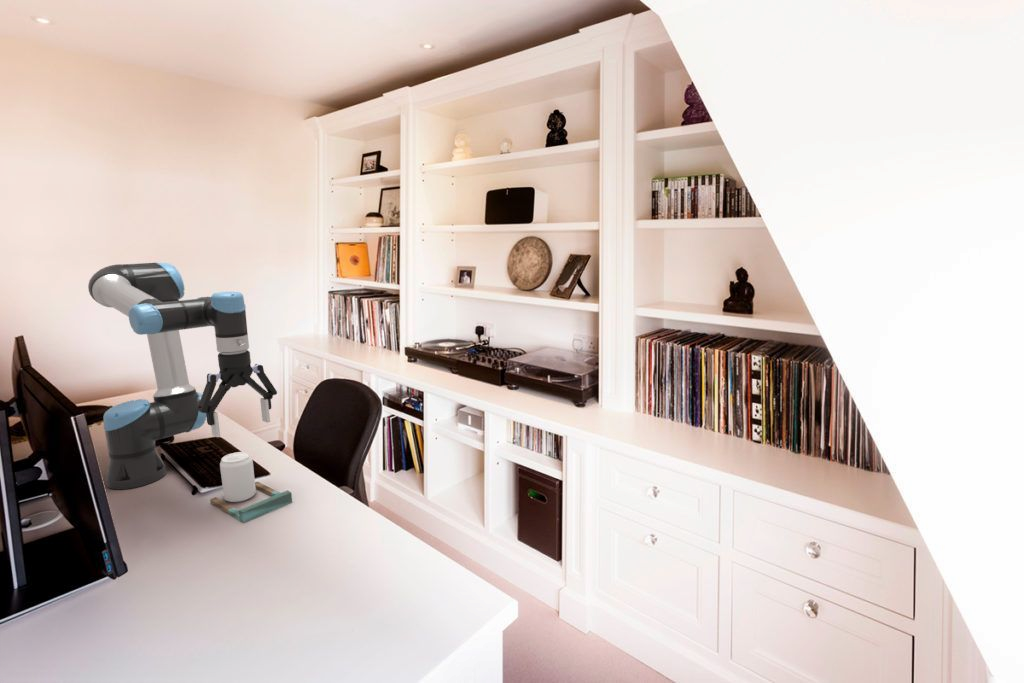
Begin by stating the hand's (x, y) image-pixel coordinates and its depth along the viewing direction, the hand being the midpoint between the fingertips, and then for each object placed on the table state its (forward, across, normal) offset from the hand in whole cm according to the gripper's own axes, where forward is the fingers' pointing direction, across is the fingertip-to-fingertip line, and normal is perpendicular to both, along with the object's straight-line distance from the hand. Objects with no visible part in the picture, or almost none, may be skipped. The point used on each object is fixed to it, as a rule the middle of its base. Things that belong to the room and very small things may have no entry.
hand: (242, 428), depth 147 cm
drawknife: (+21, 0, -1) cm, 21 cm away
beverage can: (+21, 0, +5) cm, 22 cm away
